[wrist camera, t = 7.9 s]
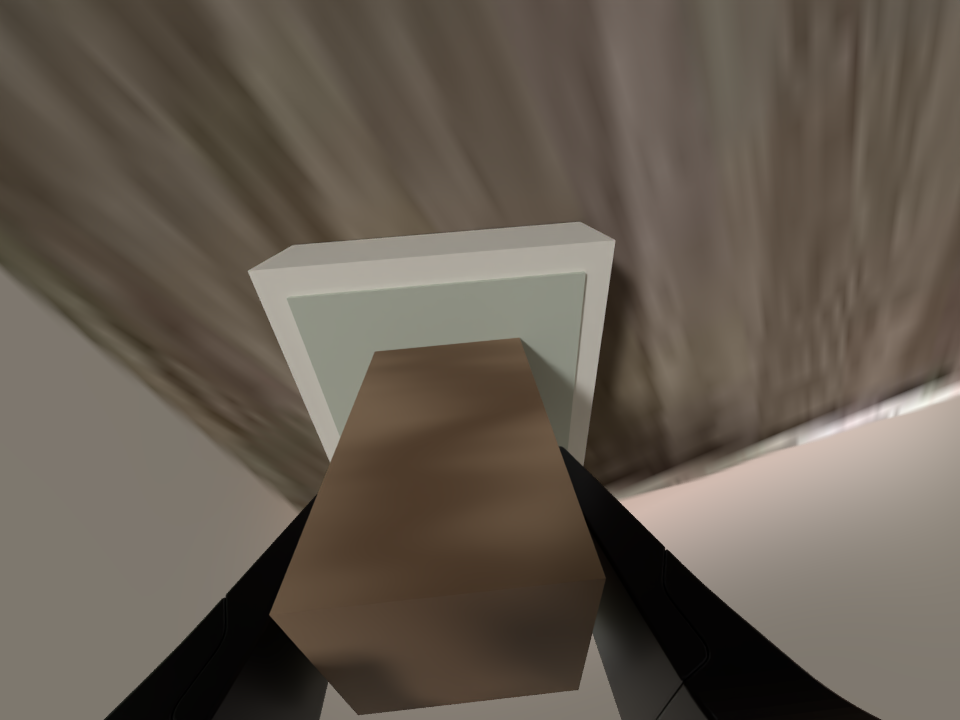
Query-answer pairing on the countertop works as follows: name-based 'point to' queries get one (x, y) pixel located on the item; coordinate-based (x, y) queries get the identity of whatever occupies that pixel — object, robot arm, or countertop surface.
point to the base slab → (443, 311)
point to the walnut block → (444, 540)
